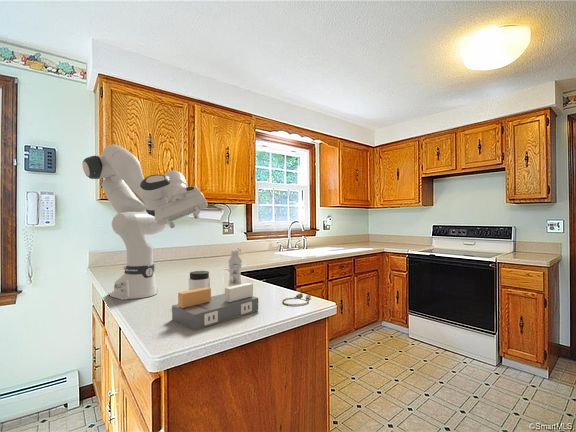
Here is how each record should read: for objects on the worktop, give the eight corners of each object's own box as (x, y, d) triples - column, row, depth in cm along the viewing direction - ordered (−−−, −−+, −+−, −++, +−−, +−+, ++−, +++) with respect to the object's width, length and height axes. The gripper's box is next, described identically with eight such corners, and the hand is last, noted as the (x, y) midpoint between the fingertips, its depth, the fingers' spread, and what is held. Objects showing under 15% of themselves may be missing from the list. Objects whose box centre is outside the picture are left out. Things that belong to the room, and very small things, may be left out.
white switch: (224, 300, 109) (224, 287, 109) (248, 294, 117) (248, 282, 117) (229, 301, 107) (229, 289, 107) (252, 296, 115) (252, 283, 115)
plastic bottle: (235, 289, 147) (235, 249, 147) (244, 292, 143) (244, 250, 143) (225, 292, 142) (225, 250, 142) (234, 294, 138) (234, 251, 138)
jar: (210, 296, 135) (210, 270, 135) (209, 301, 127) (209, 273, 127) (189, 297, 133) (189, 271, 133) (187, 302, 125) (187, 274, 125)
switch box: (163, 315, 108) (163, 301, 108) (225, 300, 128) (225, 288, 128) (195, 330, 93) (195, 314, 93) (259, 311, 113) (259, 297, 113)
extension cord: (321, 302, 126) (321, 297, 126) (293, 309, 117) (293, 304, 117) (302, 296, 136) (302, 291, 136) (275, 302, 126) (275, 297, 126)
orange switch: (178, 306, 102) (178, 292, 102) (206, 299, 110) (206, 287, 110) (182, 308, 100) (182, 294, 100) (210, 301, 108) (210, 288, 108)
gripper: (150, 203, 116) (153, 227, 107) (200, 184, 119) (206, 206, 110) (158, 213, 121) (161, 237, 112) (205, 195, 124) (212, 217, 115)
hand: (184, 222), depth 111 cm, fingers open, 8 cm apart
